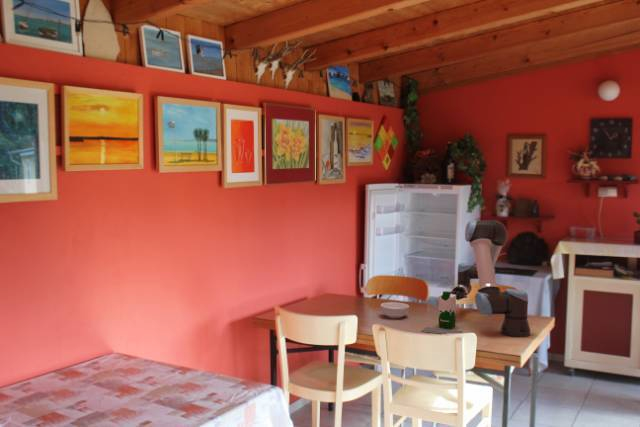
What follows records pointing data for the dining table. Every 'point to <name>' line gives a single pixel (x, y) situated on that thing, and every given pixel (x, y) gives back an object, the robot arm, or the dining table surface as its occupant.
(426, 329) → the mat
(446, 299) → the soya milk
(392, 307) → the cereal bowl
